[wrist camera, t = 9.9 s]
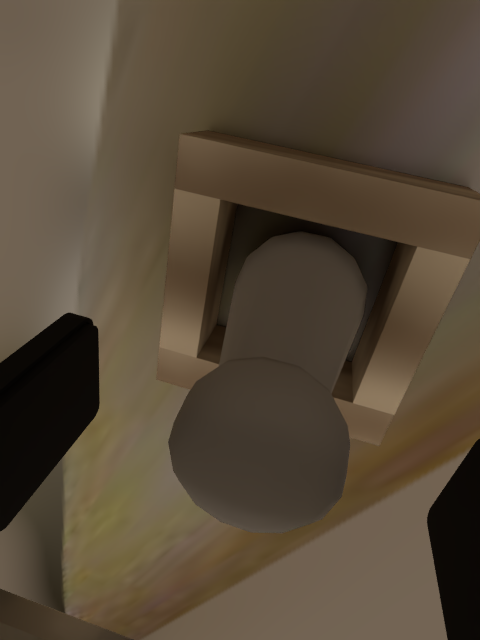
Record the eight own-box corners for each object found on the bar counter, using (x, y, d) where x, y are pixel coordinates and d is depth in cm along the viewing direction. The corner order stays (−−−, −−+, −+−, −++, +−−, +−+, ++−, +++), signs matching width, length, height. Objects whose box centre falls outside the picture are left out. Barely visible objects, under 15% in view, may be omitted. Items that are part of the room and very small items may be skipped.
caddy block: (207, 130, 18) (177, 134, 15) (469, 187, 17) (499, 205, 13) (180, 345, 24) (154, 381, 20) (374, 400, 22) (379, 449, 19)
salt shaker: (382, 236, 18) (441, 433, 7) (344, 341, 21) (342, 603, 10) (258, 207, 19) (130, 343, 8) (237, 312, 22) (120, 526, 10)
